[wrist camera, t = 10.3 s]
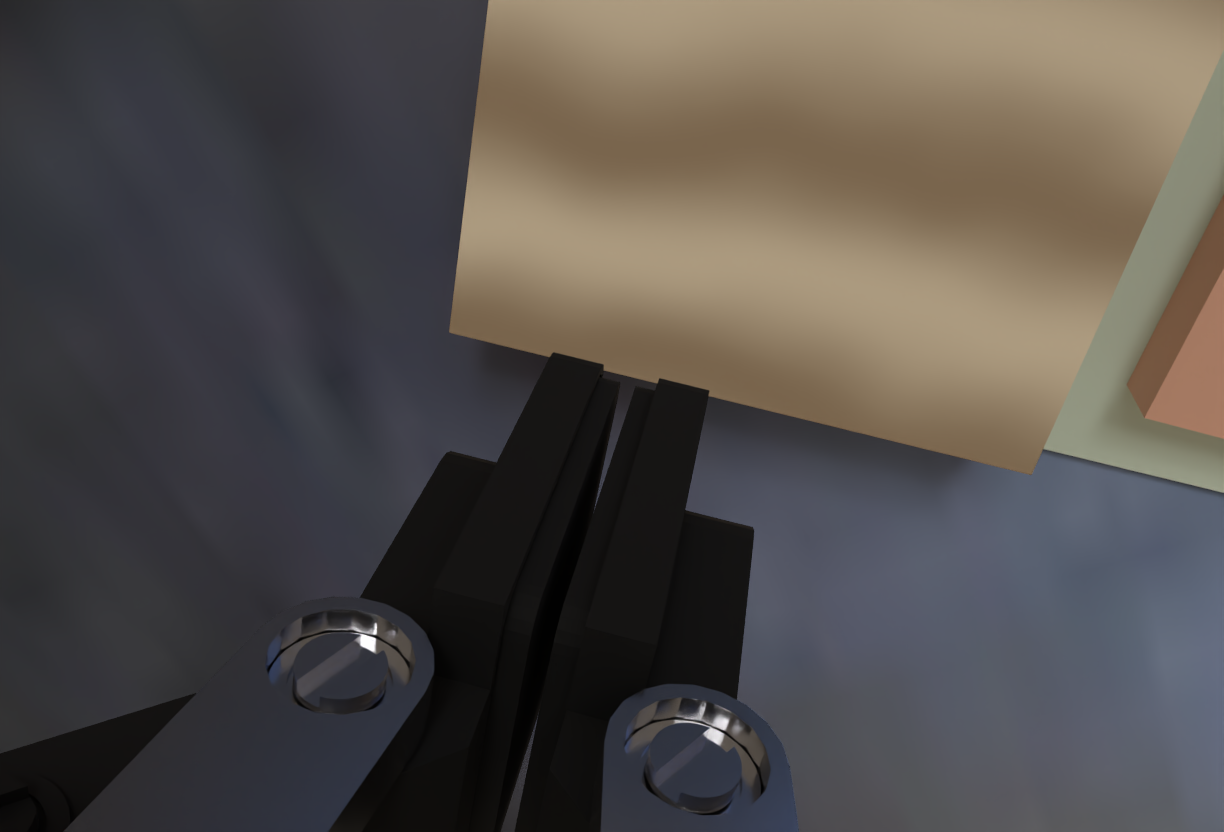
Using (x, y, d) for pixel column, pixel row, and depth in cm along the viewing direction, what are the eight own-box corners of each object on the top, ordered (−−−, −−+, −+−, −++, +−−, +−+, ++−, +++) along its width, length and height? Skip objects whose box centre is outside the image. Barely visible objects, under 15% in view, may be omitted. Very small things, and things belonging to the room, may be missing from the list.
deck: (560, -252, 26) (519, -263, 23) (1227, -111, 25) (1291, -100, 22) (488, 279, 33) (449, 332, 30) (1009, 404, 32) (1031, 475, 29)
